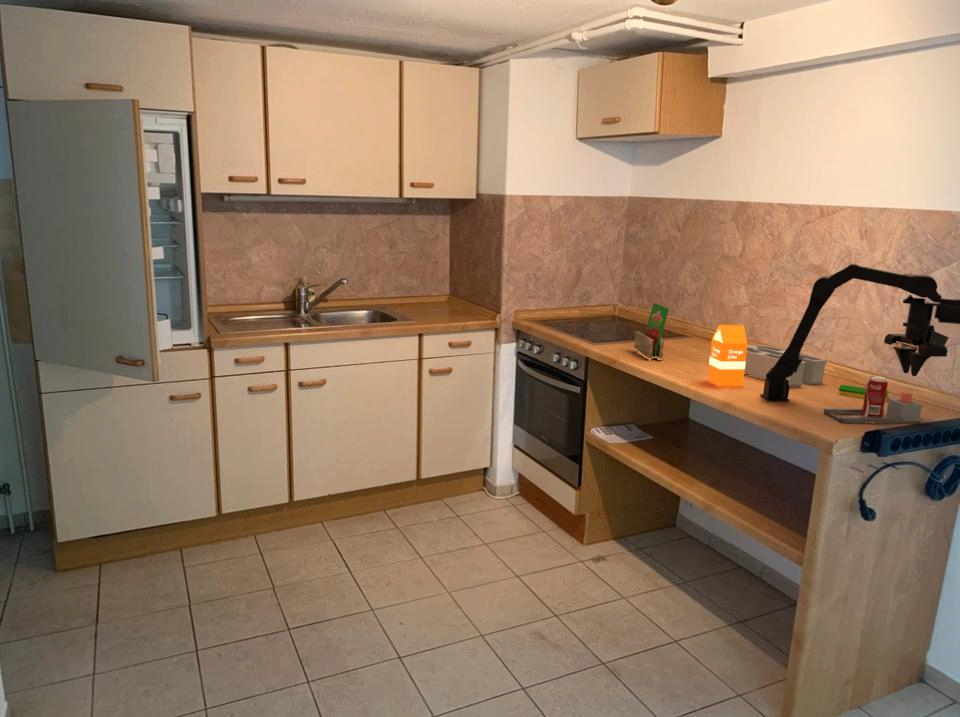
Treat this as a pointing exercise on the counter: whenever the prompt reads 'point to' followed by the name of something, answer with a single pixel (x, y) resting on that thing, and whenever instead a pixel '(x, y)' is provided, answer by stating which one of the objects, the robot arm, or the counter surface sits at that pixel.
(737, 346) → the orange juice
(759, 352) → the grey compartment organizer
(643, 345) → the packet holder
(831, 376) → the counter surface
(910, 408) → the grey push button box
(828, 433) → the counter surface
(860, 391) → the dish sponge
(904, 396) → the plunger
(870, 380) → the soda can
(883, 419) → the grey shallow tray
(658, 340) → the tomato puree packet
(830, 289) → the robot arm
